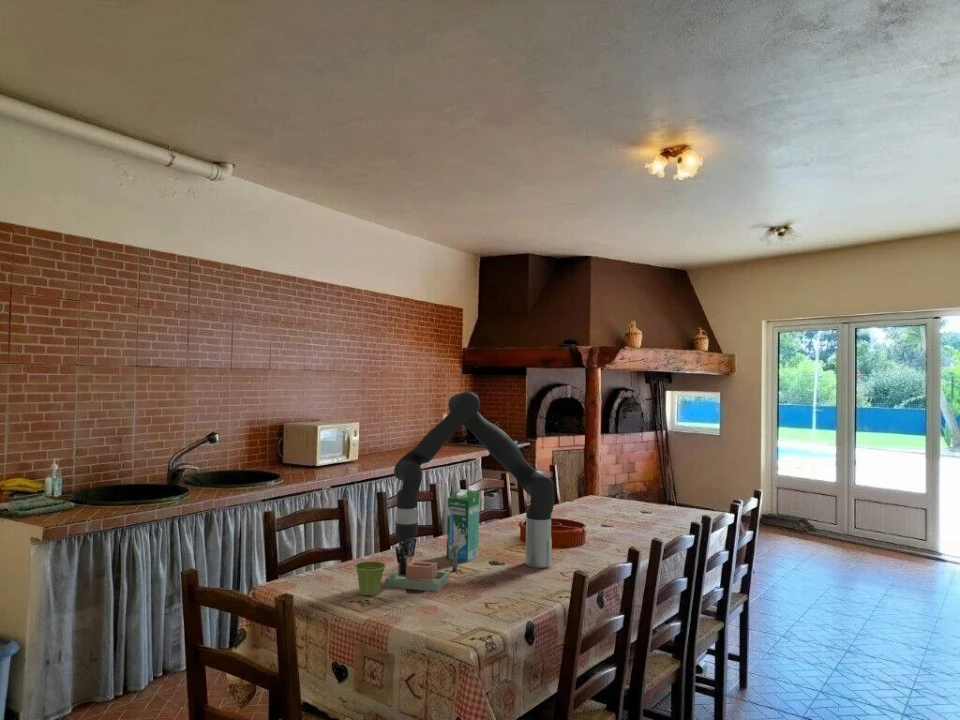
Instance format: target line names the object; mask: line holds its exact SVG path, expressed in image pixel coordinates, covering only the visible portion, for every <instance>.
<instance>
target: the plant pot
mask: <svg viewBox="0 0 960 720" xmlns="http://www.w3.org/2000/svg"><path fill="white" fill-rule="evenodd" d="M354 567H355V569H356V573H357V579H358V580H357V581H358V589H359V595H361V596H364V595H365V596H371V597H373V596H377V595H379V594H380V591H381V584H382V578H383V575H384V574H383V573H384V571H385V568H386V567H387V565H386V564H385V563H384V562H381V561H377V560H376V561H372V560H370V561H368V560H367V561H362V562H358V563H355V566H354Z"/></svg>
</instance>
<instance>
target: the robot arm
mask: <svg viewBox="0 0 960 720" xmlns="http://www.w3.org/2000/svg"><path fill="white" fill-rule="evenodd" d="M480 407H481V401H480V398H479V396H478V395H477V394H476V393H474V392H472V391H463V392H459V393H456V394H454V395H453V396H451V397H450V398H449V400H448V411H449V413H448V414H447V415H446V416H445V418H444V419H442V420H441V421H440V422H439V423H438V424H437V425H435V426H434V427H432V429H431V430H430V431H428V432H427V433H426V435H424V436H423V438H422V439H421V440H420V441H419V442H418V444H416V446H415V447H414V448H413V449H411V450H410V451H408V452H407V453H406V454H404V455H403V456H402V457H401V458H400V459H399V460H398V461H397V463H396V464H395V466H394V470H393V472H394V476H395V478H396V479H397V480H399V481H402V486H401V488H400V489H399V490H398V491H397V493H396V494H397V495H396V510H395V528H394V532H395V536H397V537H398V538H399V541H398V546H396V547H395V550H394V551H395V554H396V556H395V557H396V561H397V564H398V563H400V574H401V575H406V565H407V560H408V556H410V562H411V561H412V560H413V557H415V551H416V544H417V538H414V537H416V536H417V535H418V533H419V510H418V507H419V506H418V503H419V499H418V498H419V497H418V496H419V492H420V488H421V484H422V480H423V470H422V467H421V466H422V465H424V464H427V463H430V462H431V461H432V460H433V458H435V456H436V455H437V454H438V453H439V451H441V449H442V448H443V447H444V446H445V445H446V443H447V442H448V441H449V440H450V439H451V437H452V436H453V435H454V434H456V432H457V431H458V430H459V429H460V428H461V427H462V426H464V427H466V429H467V430H468V431H470V433H471V434H473V436H474V437H475V438H476V439H477V440H478V441H479V443H481V445H482V446H483V447H484V448H485V449H486V450H487V451H488V452H489V454H490V455H491V456H492V457H493V458H494V459H495V460H496V462H497V461H498V463H499V464H500V465H501V466H502V467H503V468H504V469H506V471H508V472H509V473H510V474H512V476H513V477H514V478H515V480H516V481H517V482H518V483H519V485H520V486H521V488H522V489H523V490H524V492H525V493H527V495H528V496H529V497H530V502H529V503H530V505H529V508H527V509H526V513H525V514H526V515H525V516H526V517H525V522H526V523H525V524H526V525H525V563H524V564H525V565H526V566H527V567H530V568H539V569H540V568H541V569H543V568H550V567H551V564H552V549H553V548H552V544H553V542H552V541H553V539H552V513H553V511H554V506H555V505H554V504H555V502H554V501H555V484H554V481H553V480H552V478H551V477H550V476H548V475H545V474H543V473H541V472H539V471H537V470H536V469H535V468H534V467H533V466H532V465H531V464H530V463H529V462H528V461H527V460H526V459H525V457H524V456H523V454H522V451H521V450H520V448H519V446H518V445H517V444H516V443H515V441H514V440H513V439H512V438H511V437H510V436H509V435H508V434H507V433H506V432H505V430H502V429H501V428H500V427H498V426H497V425H495V424H493V423H491V422H490V421H489V420H487V419H486V418H484V416H483V415H481V413H480V412H479V410H480Z"/></svg>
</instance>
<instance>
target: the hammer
mask: <svg viewBox="0 0 960 720" xmlns="http://www.w3.org/2000/svg"><path fill="white" fill-rule="evenodd" d="M458 550H459V546H455V547H453V548H452V553H453V559H452V572H458V560H457V552H458Z"/></svg>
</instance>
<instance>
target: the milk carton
mask: <svg viewBox="0 0 960 720" xmlns="http://www.w3.org/2000/svg"><path fill="white" fill-rule="evenodd" d="M480 493H481V492H480V490H479V491H477V490H469V489H462V488H459V489H458V490H456V491H455V492H454V493H453V494H452V495H450V496H448V498H447V519H446V523H447V525H446V558H445V559H448V560H453V553H452V548H453V547H455V546H459V550H458V552H457V562H458V561H460V562H465V563H467V562H468V563H469V561H472V560H474V559H476V558H478V557H479V538H480V537H479V535H480Z"/></svg>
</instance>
